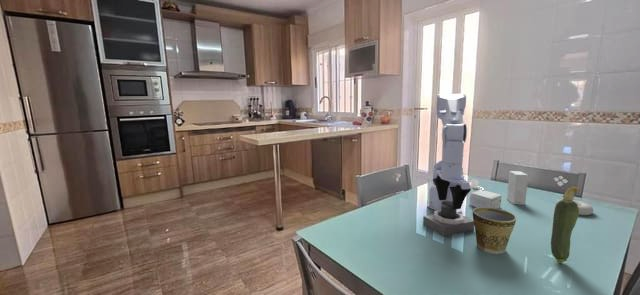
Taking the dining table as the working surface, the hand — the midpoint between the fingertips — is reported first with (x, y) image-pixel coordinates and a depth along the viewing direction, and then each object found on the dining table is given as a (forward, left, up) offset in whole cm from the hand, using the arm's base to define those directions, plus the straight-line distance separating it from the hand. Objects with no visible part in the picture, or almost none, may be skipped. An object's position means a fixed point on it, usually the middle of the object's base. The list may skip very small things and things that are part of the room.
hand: (449, 204), depth 87 cm
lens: (0, 0, -5) cm, 5 cm away
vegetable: (+25, +11, -8) cm, 28 cm away
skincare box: (-7, +42, -8) cm, 43 cm away
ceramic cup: (+13, +2, -8) cm, 16 cm away
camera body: (0, 0, -8) cm, 8 cm away
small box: (-8, +27, -8) cm, 29 cm away
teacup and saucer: (-26, +45, -9) cm, 53 cm away
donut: (+7, +52, -8) cm, 53 cm away
